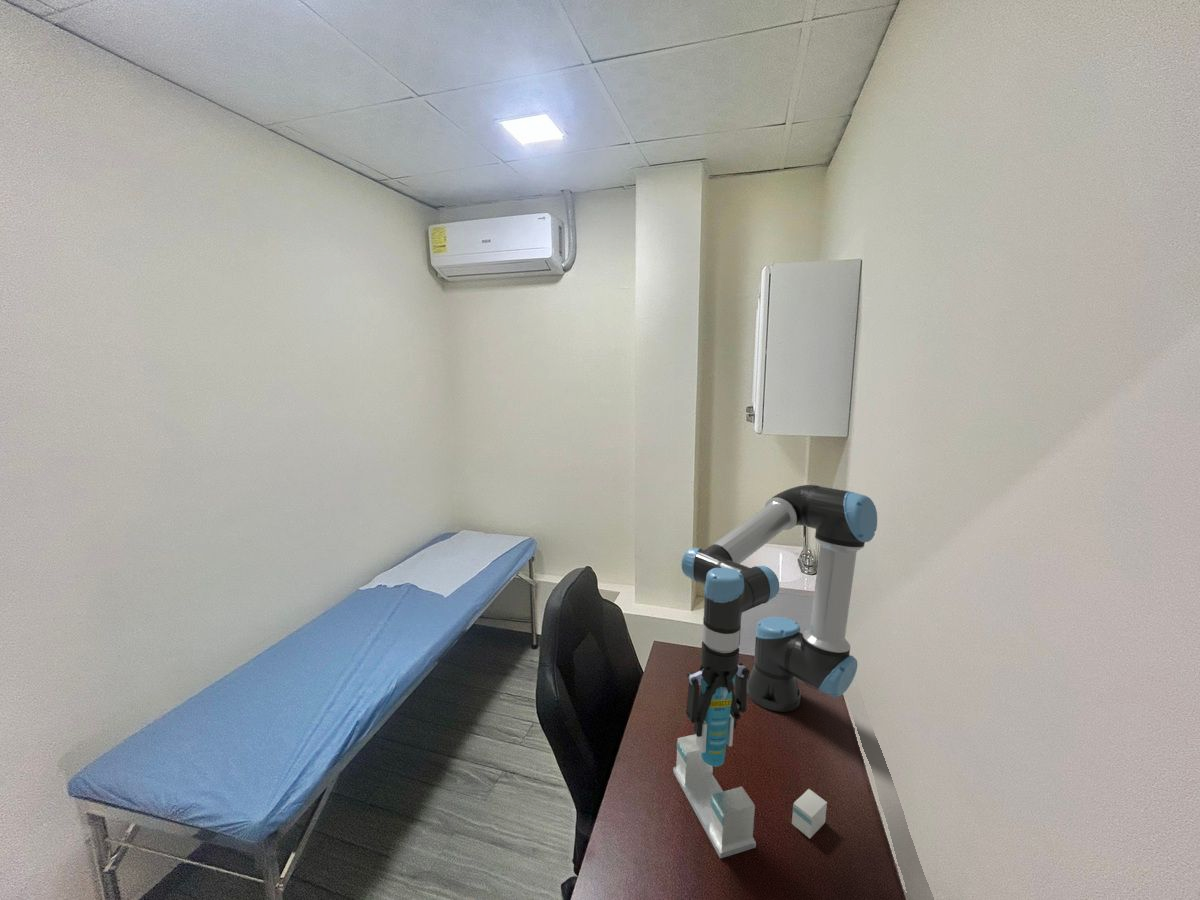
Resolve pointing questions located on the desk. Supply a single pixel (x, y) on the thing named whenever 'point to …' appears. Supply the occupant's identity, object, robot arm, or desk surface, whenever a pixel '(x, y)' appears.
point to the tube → (717, 725)
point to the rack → (715, 801)
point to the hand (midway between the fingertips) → (714, 744)
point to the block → (809, 813)
